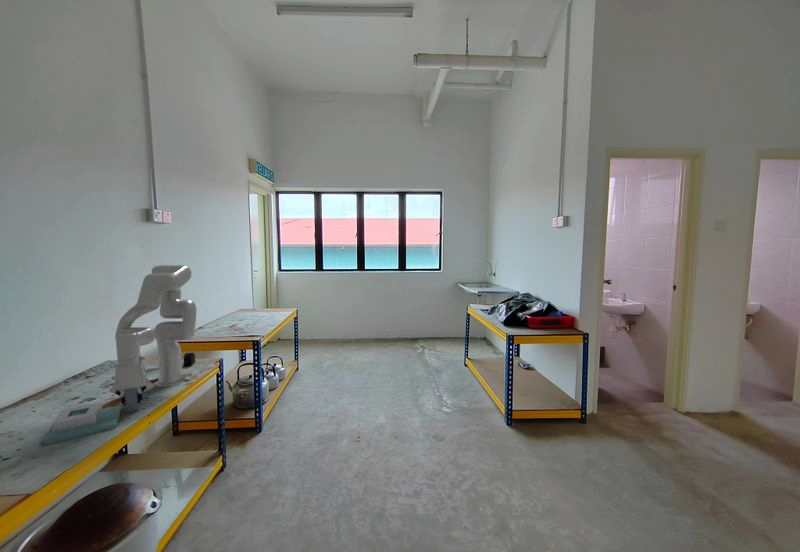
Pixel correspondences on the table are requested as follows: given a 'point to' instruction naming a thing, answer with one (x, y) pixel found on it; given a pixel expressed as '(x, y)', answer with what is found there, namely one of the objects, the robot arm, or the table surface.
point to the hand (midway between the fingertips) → (132, 403)
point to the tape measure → (189, 359)
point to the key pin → (131, 400)
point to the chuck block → (82, 422)
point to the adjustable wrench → (145, 370)
